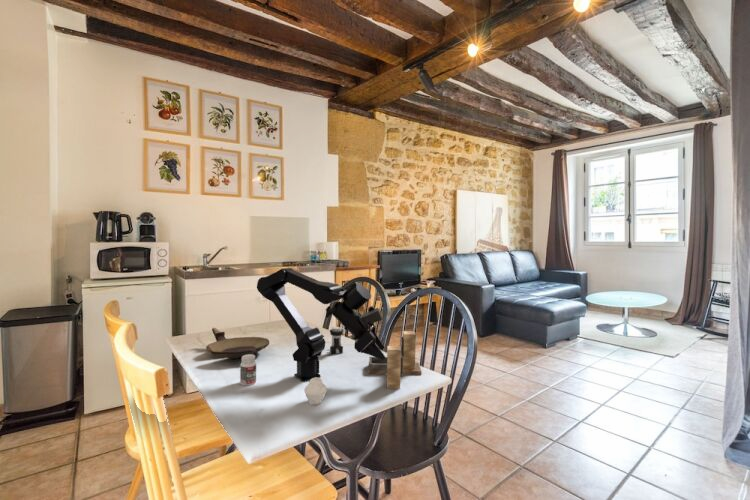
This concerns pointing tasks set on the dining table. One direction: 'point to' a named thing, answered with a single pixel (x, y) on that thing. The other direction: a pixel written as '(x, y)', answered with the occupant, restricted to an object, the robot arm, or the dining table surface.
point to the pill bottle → (248, 370)
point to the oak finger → (394, 366)
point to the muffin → (315, 391)
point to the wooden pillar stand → (407, 353)
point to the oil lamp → (235, 345)
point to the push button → (336, 340)
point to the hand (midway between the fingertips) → (383, 353)
